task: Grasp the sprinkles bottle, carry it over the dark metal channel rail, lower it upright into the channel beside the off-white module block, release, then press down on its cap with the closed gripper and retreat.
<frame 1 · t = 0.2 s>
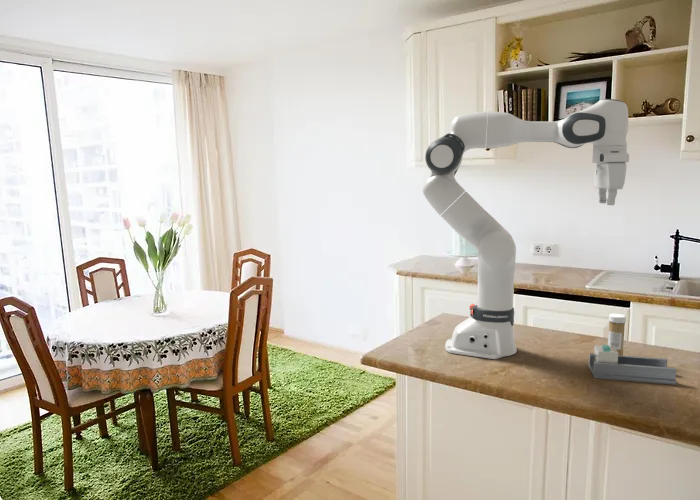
hand: (606, 204, 154), 47 cm above the worktop, fingers open, 8 cm apart
sprinkles bottle: (614, 358, 160), on the worktop
rail: (629, 374, 147), on the worktop
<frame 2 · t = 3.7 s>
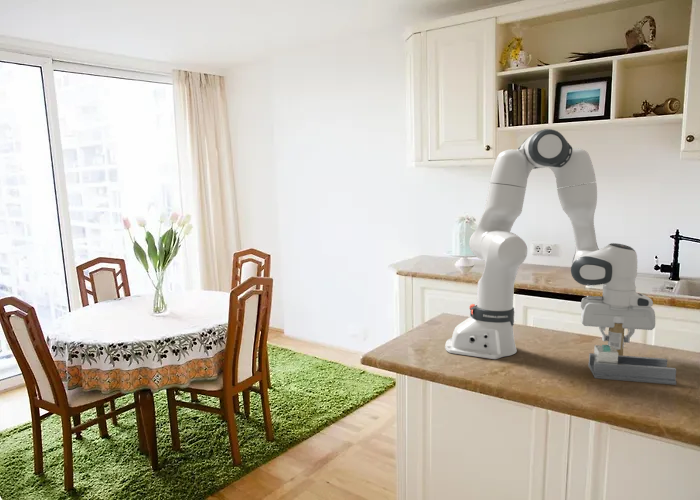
hand: (615, 341, 160), 5 cm above the worktop, fingers closed on sprinkles bottle, 4 cm apart
sprinkles bottle: (614, 358, 160), on the worktop, touching gripper
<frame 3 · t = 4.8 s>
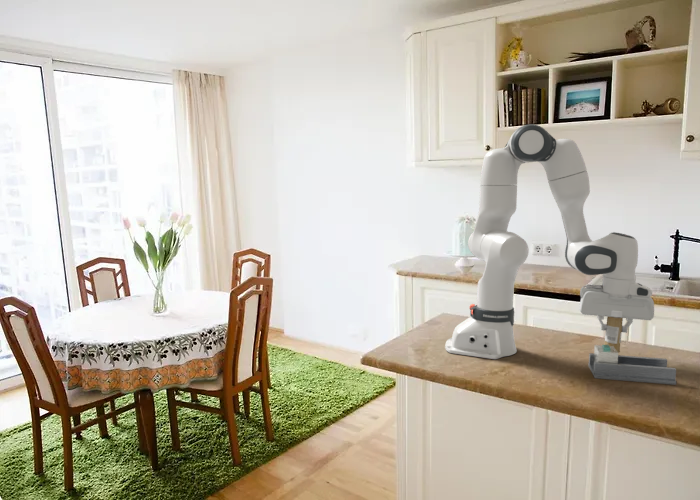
hand: (613, 331, 159), 8 cm above the worktop, fingers closed on sprinkles bottle, 4 cm apart
sprinkles bottle: (611, 352, 160), point 2 cm above the worktop, touching gripper
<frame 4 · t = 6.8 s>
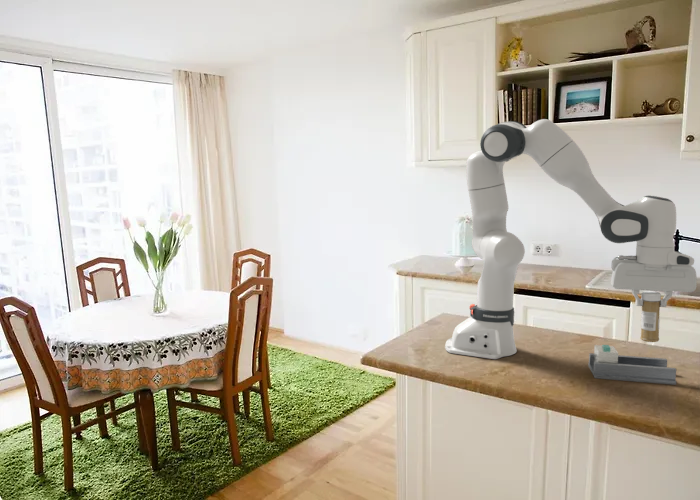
hand: (650, 306, 143), 20 cm above the worktop, fingers closed on sprinkles bottle, 4 cm apart
sprinkles bottle: (649, 340, 144), point 10 cm above the worktop, touching gripper
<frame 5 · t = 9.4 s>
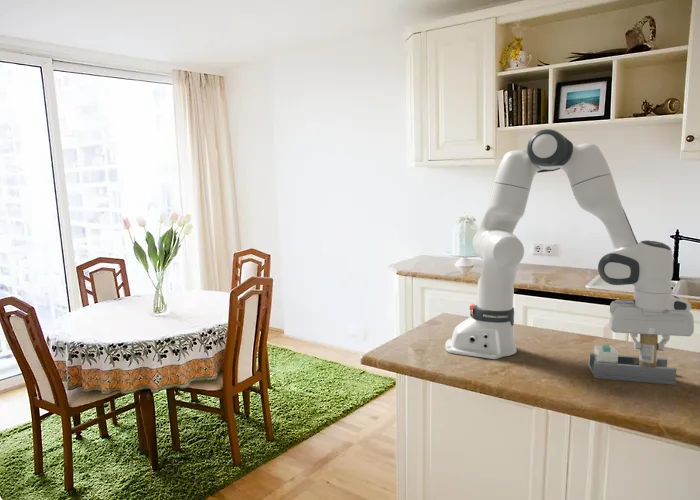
hand: (648, 349, 144), 8 cm above the worktop, fingers closed on sprinkles bottle, 4 cm apart
sprinkles bottle: (647, 372, 146), point 1 cm above the worktop, touching gripper, rail
when the fingers open (8 cm above the worktop, at t = 9.7 s): sprinkles bottle stays where it is, resting on rail.
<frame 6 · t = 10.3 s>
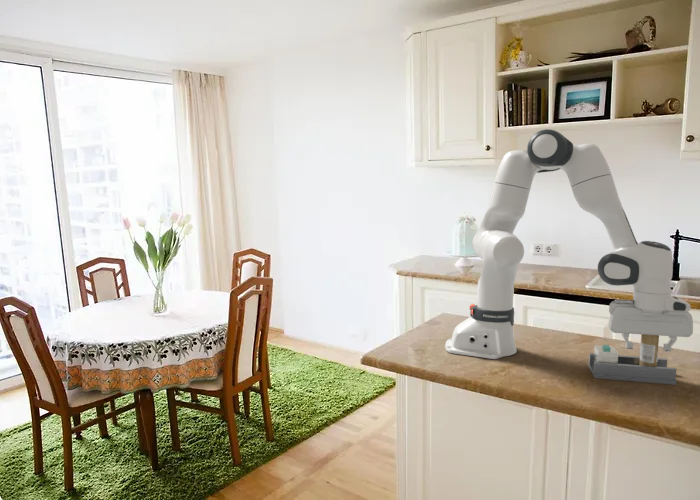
hand: (647, 349, 145), 8 cm above the worktop, fingers open, 8 cm apart
sprinkles bottle: (647, 372, 146), point 1 cm above the worktop, touching rail
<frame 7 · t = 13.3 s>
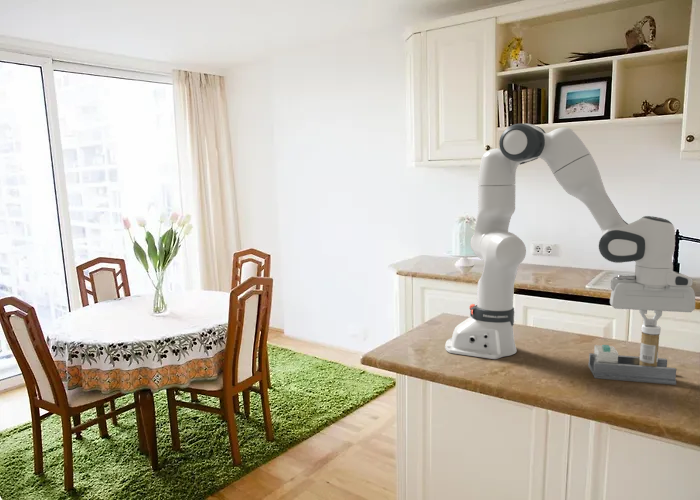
hand: (649, 325, 144), 14 cm above the worktop, fingers closed, pressing on sprinkles bottle
sprinkles bottle: (647, 372, 146), point 1 cm above the worktop, touching gripper, rail
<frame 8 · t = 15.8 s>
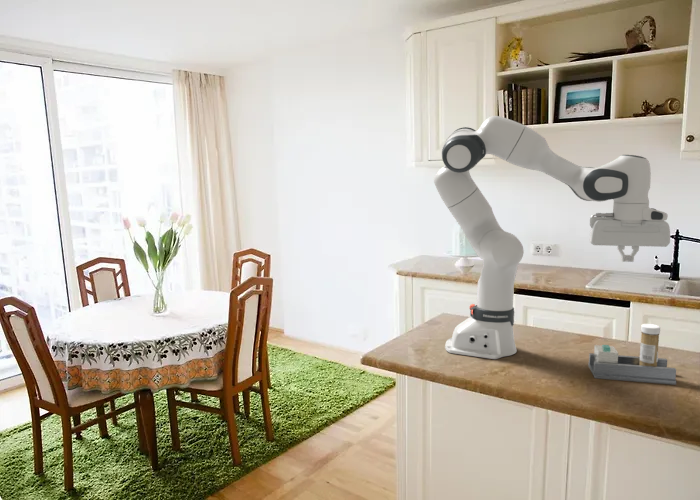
hand: (627, 261, 149), 31 cm above the worktop, fingers closed
sprinkles bottle: (647, 372, 146), point 1 cm above the worktop, touching rail
at the end: sprinkles bottle 0.7 cm from the target spot on the rail, point 0.8 cm above the rail's base; sprinkles bottle tilted 0°; the gripper is holding nothing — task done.
